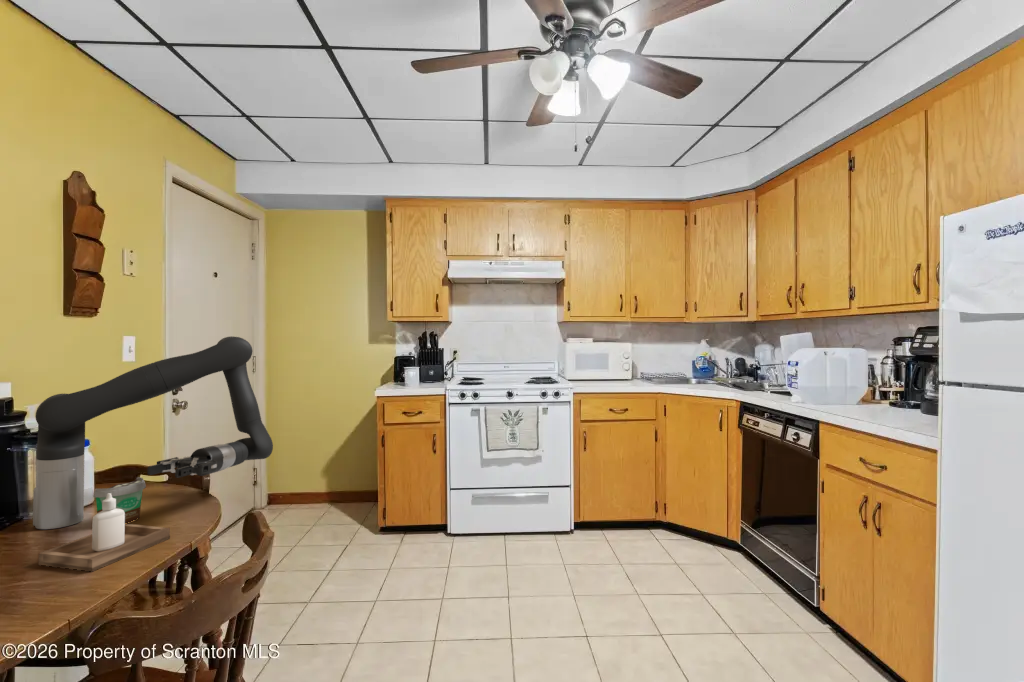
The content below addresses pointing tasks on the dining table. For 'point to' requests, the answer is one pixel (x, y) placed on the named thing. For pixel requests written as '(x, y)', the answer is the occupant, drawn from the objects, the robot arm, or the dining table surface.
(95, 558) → the walnut tray
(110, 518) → the eye dropper bottle
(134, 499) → the food container
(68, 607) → the dining table surface
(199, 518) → the dining table surface
